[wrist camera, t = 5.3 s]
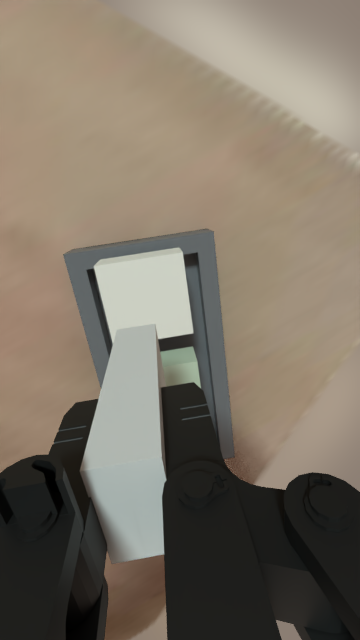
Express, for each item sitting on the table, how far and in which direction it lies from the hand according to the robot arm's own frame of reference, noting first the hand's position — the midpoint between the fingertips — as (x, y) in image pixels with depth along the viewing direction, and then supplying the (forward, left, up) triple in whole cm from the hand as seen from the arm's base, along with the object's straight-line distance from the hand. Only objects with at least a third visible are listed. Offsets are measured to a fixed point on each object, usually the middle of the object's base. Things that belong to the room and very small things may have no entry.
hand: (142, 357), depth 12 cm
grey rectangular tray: (+7, 0, -12) cm, 14 cm away
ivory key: (0, 0, -10) cm, 10 cm away
